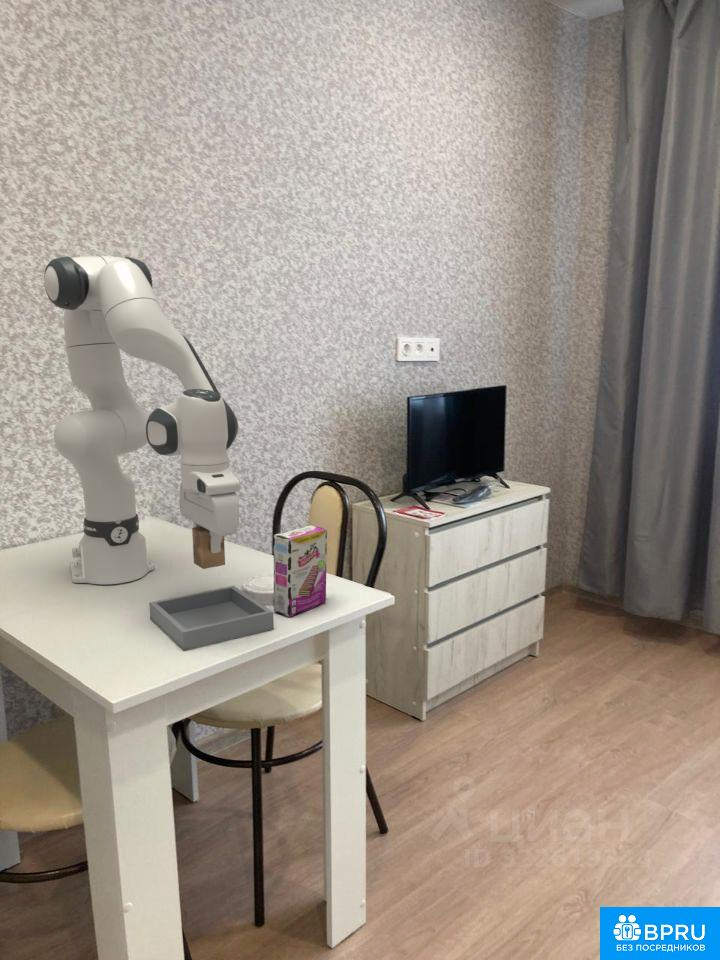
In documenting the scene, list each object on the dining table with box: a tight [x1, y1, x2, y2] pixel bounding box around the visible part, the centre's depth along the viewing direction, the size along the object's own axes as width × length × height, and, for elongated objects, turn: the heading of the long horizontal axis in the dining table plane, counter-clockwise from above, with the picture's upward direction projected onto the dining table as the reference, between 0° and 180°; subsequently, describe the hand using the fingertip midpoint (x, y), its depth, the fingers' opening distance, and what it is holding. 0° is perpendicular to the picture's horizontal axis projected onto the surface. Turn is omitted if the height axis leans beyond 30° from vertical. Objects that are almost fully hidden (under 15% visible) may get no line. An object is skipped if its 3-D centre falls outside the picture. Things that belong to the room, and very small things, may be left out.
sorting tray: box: [149, 585, 275, 652], centre depth 144 cm, size 18×18×4 cm
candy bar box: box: [273, 525, 328, 618], centre depth 152 cm, size 11×5×16 cm, turn 141°
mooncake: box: [241, 573, 274, 607], centre depth 160 cm, size 12×12×4 cm
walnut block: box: [191, 526, 226, 570], centre depth 141 cm, size 4×4×7 cm
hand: (208, 548), depth 141 cm, fingers closed on walnut block, 4 cm apart
